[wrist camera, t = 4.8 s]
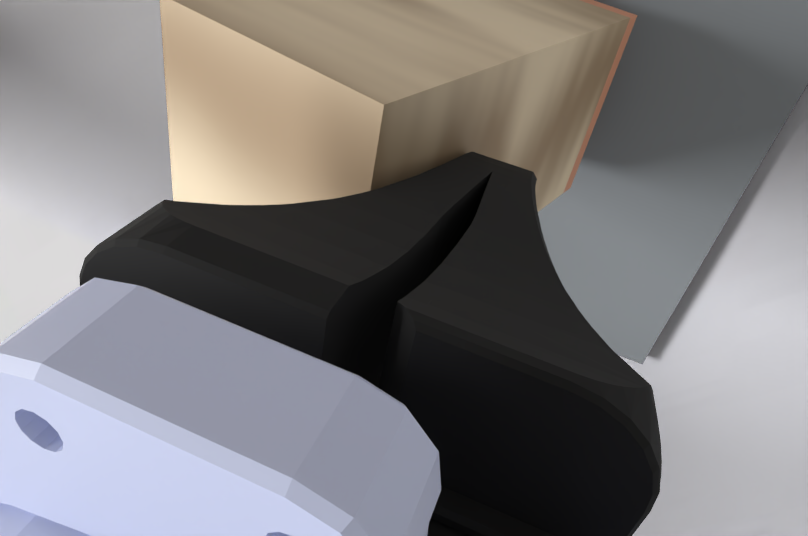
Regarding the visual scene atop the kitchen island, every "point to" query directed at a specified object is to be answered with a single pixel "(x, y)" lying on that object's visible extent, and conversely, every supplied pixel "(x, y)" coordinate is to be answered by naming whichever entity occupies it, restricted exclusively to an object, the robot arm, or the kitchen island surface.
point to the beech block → (379, 92)
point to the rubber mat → (672, 156)
